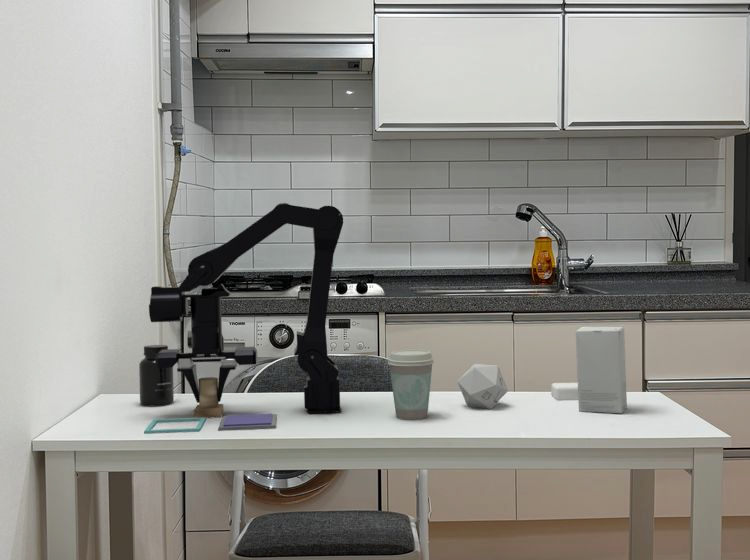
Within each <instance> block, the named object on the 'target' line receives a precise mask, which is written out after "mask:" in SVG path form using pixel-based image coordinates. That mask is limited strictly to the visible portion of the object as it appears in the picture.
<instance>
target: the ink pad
mask: <svg viewBox="0 0 750 560" xmlns="http://www.w3.org/2000/svg"><path fill="white" fill-rule="evenodd" d="M277 417H278V413H271V412H269V413H249V414H248V413H247V414H227V415H222V417H221V420H220V422H219V425H218V427H217V428H218V431H239V430H244V431H245V430H263V429H264V430H265V429H267V430H269V429H276V427H277V419H278V418H277Z"/></svg>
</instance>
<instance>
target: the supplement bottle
mask: <svg viewBox="0 0 750 560" xmlns="http://www.w3.org/2000/svg"><path fill="white" fill-rule="evenodd" d="M161 350H169V345H166V344H152V345H151V344H150V345H144V346H143V356H144V358H143V359H141V360H140V362H139V365H138V366H139V367H138V368H139V369H138V370H139V371H138V373H139V374H138V375H139V377H138V378H139V404H141V406H145V405H162V406H166V405H165V404H168V405H171V404H173V402H174V400H175V399H174V397H175V396H174V395H175V393H174V390H175V389H174V366H173V367H168V368H156V360H155V359H156V355H157V354H158V353H159V352H160V351H161ZM170 403H171V404H170Z"/></svg>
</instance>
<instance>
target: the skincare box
mask: <svg viewBox="0 0 750 560" xmlns="http://www.w3.org/2000/svg"><path fill="white" fill-rule="evenodd" d="M625 341H626V340H625V327H624V326H582V327H579V328H578V329H577V330H576V331H575V346H576V371H577V372H576V373H577V376H576V377H577V383H578V400H577V401H578V412H581V413H584V412H585V413H589V412H590V413H604V414H605V413H608V414H623V412H624V411H625V410H626V408H627V407H628V401H627V400H628V398H627V374H626V373H627V370H626V369H627V368H626V347H625V343H626V342H625Z"/></svg>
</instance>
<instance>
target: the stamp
mask: <svg viewBox="0 0 750 560" xmlns="http://www.w3.org/2000/svg"><path fill="white" fill-rule="evenodd" d="M218 382H219V377H213V376H212V377H211V376H208V377H200V378H198V387H199V403H198V404H197V405H196V406H195V407H194V409H193V412H194V416H193V418H204V417H214V418H222V417H223V414H224V403H219V402H218ZM221 416H222V417H221Z"/></svg>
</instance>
